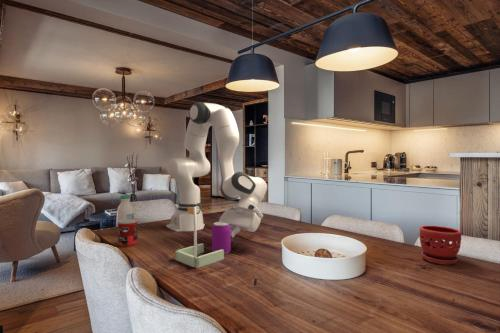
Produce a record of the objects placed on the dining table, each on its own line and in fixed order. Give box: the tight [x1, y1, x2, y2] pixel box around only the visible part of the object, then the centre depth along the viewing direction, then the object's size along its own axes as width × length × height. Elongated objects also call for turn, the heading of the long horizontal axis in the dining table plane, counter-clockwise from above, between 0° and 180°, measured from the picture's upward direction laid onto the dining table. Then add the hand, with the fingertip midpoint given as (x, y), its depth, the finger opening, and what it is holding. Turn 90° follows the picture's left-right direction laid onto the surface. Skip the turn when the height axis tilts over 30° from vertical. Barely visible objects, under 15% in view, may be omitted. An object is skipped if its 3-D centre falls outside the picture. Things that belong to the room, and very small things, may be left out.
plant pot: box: [419, 225, 462, 265], centre depth 113 cm, size 13×13×12 cm
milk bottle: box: [117, 194, 135, 222], centre depth 156 cm, size 8×8×20 cm
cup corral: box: [174, 207, 225, 269], centre depth 117 cm, size 13×13×22 cm
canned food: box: [117, 218, 138, 248], centre depth 137 cm, size 8×8×11 cm
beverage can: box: [211, 221, 232, 255], centre depth 125 cm, size 8×8×12 cm
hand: (229, 236), depth 128 cm, fingers closed, pressing on beverage can
